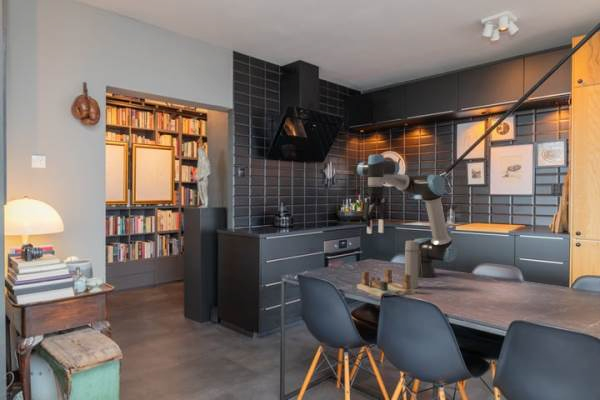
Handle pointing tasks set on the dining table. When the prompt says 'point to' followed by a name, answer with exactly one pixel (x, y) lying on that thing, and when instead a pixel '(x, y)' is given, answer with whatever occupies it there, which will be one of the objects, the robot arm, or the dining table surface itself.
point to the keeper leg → (378, 284)
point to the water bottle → (412, 262)
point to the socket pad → (385, 290)
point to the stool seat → (388, 278)
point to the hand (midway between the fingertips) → (375, 233)
